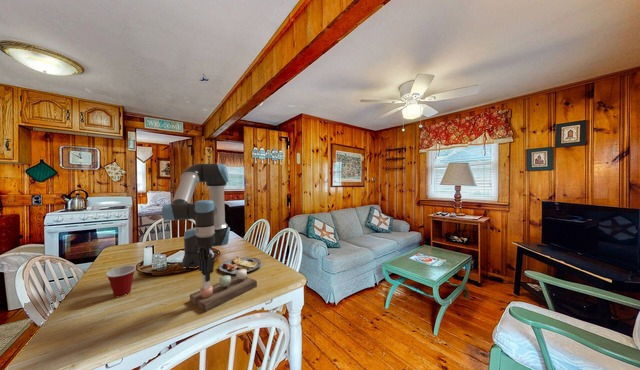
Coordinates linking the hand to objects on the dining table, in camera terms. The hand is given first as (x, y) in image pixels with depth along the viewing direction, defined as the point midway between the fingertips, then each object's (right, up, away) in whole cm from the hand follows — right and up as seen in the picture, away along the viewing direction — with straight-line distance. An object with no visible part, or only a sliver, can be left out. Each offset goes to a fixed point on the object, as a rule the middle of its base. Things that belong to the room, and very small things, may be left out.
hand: (206, 287), depth 99 cm
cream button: (+10, -1, +15) cm, 18 cm away
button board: (+5, -6, +8) cm, 11 cm away
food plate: (+2, -6, +39) cm, 39 cm away
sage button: (+5, -2, +7) cm, 9 cm away
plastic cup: (-44, -7, +7) cm, 45 cm away
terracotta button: (0, -3, 0) cm, 3 cm away
